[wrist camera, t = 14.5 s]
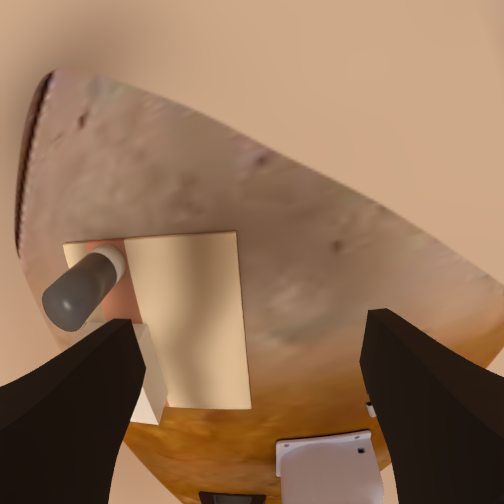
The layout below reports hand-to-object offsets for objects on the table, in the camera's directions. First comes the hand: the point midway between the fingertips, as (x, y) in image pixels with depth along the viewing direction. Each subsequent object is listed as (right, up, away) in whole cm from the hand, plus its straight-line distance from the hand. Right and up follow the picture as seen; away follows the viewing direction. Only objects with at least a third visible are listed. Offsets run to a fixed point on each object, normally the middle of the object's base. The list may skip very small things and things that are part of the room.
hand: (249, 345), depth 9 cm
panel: (-6, -3, +12) cm, 14 cm away
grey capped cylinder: (-9, +2, +10) cm, 13 cm away
